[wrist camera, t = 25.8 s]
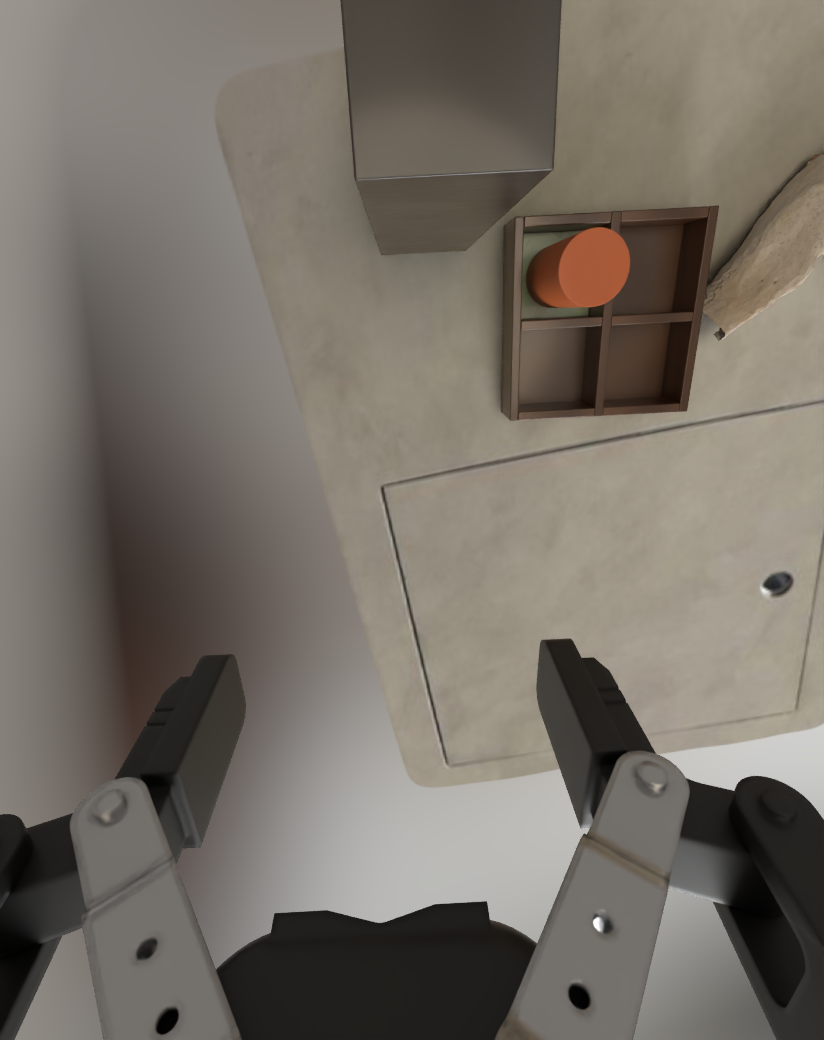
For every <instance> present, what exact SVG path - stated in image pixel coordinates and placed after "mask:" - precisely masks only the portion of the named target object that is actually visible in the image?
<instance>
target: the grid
mask: <svg viewBox="0 0 824 1040" xmlns="http://www.w3.org/2000/svg"><path fill="white" fill-rule="evenodd" d="M718 209H719V206H709V207H708V206H706V207H688V208H669V209H651V210H633V211H622V212H621V211H613V212H596V213H577V214H559V215H541V216H525V217H523V216H522V217H515V218H513V219H512V220H511V221H510V222H509V223H507V224H506V225H505V226H504V266H503V325H502V384H501V412H502V413H503V414H504V415H505V416H506V417H507V418H508V419H509V420H510V421H515V420H533V419H552V418H570V417H589V416H602V415H603V416H608V415H627V414H645V413H664V412H678V411H679V412H683V411H687V408H688V401H689V395H690V388H691V382H692V376H693V369H694V363H695V356H696V350H697V344H698V337H699V331H700V324H701V318H702V312H703V305H704V299H705V292H706V286H707V280H708V273H709V267H710V260H711V254H712V248H713V241H714V235H715V228H716V222H717V216H718ZM594 227H604V228H608V229H611V230H613V231H615V232H616V233H617V234H619V235H620V236H621V237H622V238H623V240H624V241H625V243H626V245H627V247H628V250H629V255H630V269H629V273H628V277H627V279H626V282H625V284H624V286H623V287H622V289H621V290H620V291H619V293H618V294H617V295H616V296H615V297H614V298H612V299H611V300H610V301H608V302H606V303H605V304H602V305H599V306H596V307H569V308H548V307H544V306H541V305H539V304H538V303H536V302H535V301H534V300H533V299H532V298H531V296H530V294H529V292H528V290H527V286H526V273H527V269H528V266H529V264H530V262H531V260H532V259H533V257H534V256H535V255H536V254H537V253H538V252H539V251H540V250H542V249H544V248H545V247H548V246H550V245H552V244H555V243H557V242H559V241H561V240H564V239H566V238H568V237H571V236H573V235H575V234H577V233H580V232H582V231H584V230H587V229H590V228H594Z"/></svg>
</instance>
